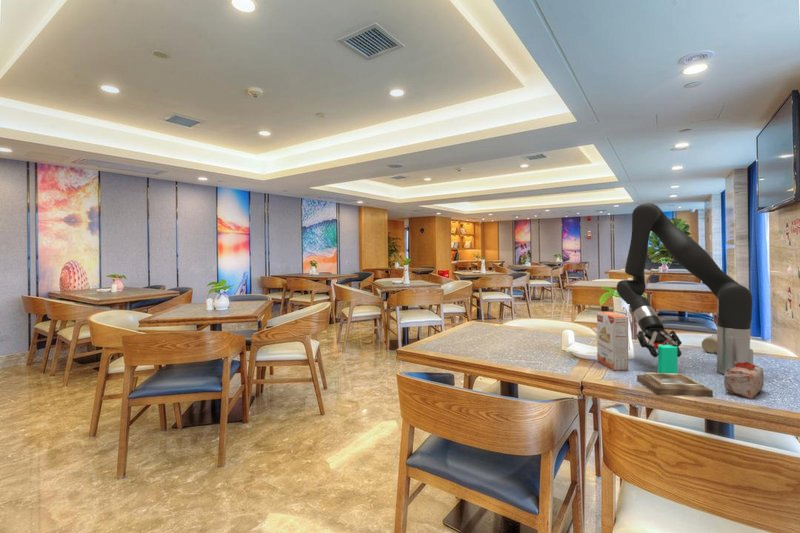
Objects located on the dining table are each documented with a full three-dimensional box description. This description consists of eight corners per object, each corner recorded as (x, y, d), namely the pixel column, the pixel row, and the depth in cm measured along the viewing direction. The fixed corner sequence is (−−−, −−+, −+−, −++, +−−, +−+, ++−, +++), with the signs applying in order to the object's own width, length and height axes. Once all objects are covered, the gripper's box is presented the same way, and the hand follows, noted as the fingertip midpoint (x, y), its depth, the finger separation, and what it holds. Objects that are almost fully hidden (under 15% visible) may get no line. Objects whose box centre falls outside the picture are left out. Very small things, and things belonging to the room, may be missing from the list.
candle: (680, 377, 140) (680, 344, 140) (662, 376, 141) (662, 343, 141) (672, 372, 146) (672, 340, 145) (654, 371, 147) (655, 340, 147)
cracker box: (596, 360, 162) (596, 311, 161) (610, 361, 162) (611, 311, 161) (612, 370, 148) (612, 316, 147) (628, 371, 148) (629, 316, 147)
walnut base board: (687, 382, 134) (687, 373, 134) (712, 396, 120) (712, 386, 120) (637, 380, 137) (637, 371, 137) (656, 394, 123) (656, 384, 123)
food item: (755, 401, 117) (755, 368, 117) (721, 393, 123) (722, 363, 123) (765, 391, 125) (765, 361, 125) (733, 384, 132) (734, 356, 131)
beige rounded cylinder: (699, 351, 175) (700, 335, 175) (708, 349, 179) (708, 333, 179) (729, 357, 166) (729, 339, 166) (737, 354, 170) (737, 337, 170)
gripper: (634, 314, 151) (653, 351, 140) (670, 314, 151) (692, 350, 140) (626, 325, 157) (643, 361, 146) (661, 325, 157) (681, 361, 146)
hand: (667, 356), depth 143 cm, fingers open, 8 cm apart
